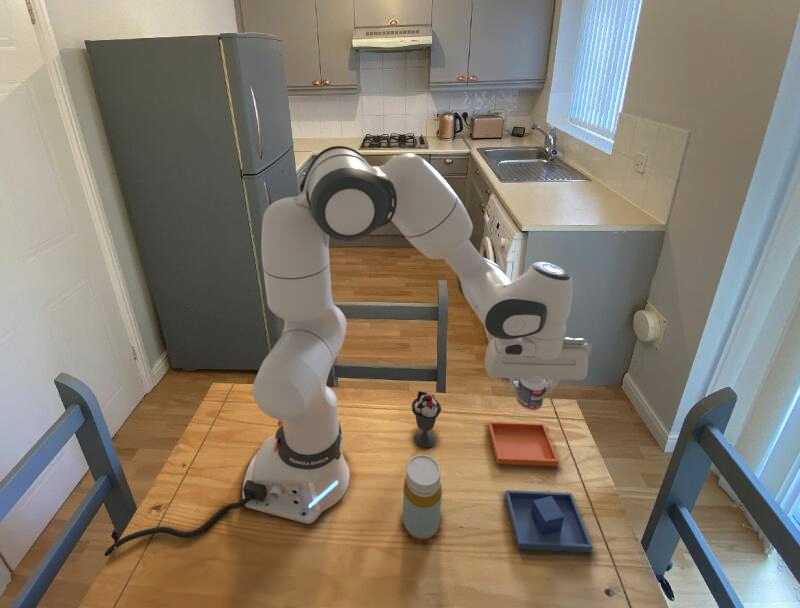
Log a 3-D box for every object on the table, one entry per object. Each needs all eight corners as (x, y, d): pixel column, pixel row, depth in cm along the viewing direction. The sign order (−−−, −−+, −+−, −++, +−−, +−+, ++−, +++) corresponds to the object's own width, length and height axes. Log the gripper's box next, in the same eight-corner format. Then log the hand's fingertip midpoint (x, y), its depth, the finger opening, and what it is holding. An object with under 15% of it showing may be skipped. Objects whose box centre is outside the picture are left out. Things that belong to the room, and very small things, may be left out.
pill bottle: (529, 415, 88) (535, 382, 84) (511, 398, 92) (515, 366, 88) (547, 405, 90) (553, 373, 86) (528, 389, 94) (533, 358, 91)
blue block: (542, 535, 79) (545, 521, 77) (530, 513, 82) (533, 500, 81) (561, 530, 79) (564, 516, 78) (548, 509, 83) (551, 495, 82)
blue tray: (517, 550, 77) (519, 543, 76) (504, 496, 86) (505, 489, 85) (590, 554, 76) (592, 547, 75) (569, 499, 85) (571, 492, 85)
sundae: (436, 454, 95) (439, 405, 89) (407, 446, 97) (409, 397, 91) (441, 431, 101) (444, 383, 95) (414, 424, 103) (415, 376, 97)
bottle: (438, 545, 78) (442, 491, 72) (400, 537, 79) (401, 483, 73) (439, 508, 84) (443, 455, 78) (405, 501, 86) (406, 449, 80)
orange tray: (497, 465, 93) (498, 458, 92) (487, 427, 102) (488, 421, 101) (557, 467, 92) (558, 461, 91) (542, 429, 101) (543, 423, 100)
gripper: (586, 329, 87) (574, 381, 92) (485, 327, 88) (480, 378, 93) (600, 349, 81) (586, 403, 86) (492, 347, 82) (485, 400, 87)
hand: (530, 390), depth 90 cm, fingers closed on pill bottle, 5 cm apart
